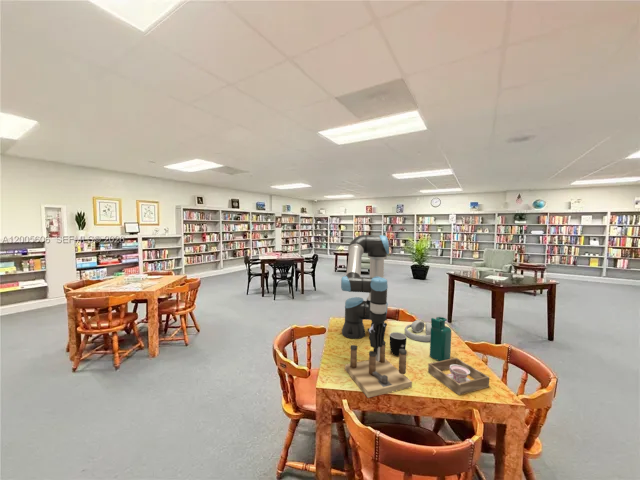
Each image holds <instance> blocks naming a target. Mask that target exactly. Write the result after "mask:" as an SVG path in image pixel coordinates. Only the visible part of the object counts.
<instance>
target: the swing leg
mask: <svg viewBox="0 0 640 480" xmlns="http://www.w3.org/2000/svg"><path fill="white" fill-rule="evenodd" d="M368 356H369V357H368V360H369V374H371V375H374V376H375V377H376V378H378V379H379V380H380V381H382V383H384V384H387V383H388V377H387V376H386V375H383V376H382V375H380V374H379V373H378V372H376V352H374V351H373V350H369V352H368Z"/></svg>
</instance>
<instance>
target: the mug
mask: <svg viewBox="0 0 640 480" xmlns="http://www.w3.org/2000/svg"><path fill="white" fill-rule="evenodd" d="M406 345H407V336H406V334H405V333H402V332H397V331H395V332H391V333H389V348H390V352H391V354H392V355H393V356H397V357H399V349H405V350H406V348H407V346H406Z"/></svg>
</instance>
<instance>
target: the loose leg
mask: <svg viewBox="0 0 640 480" xmlns="http://www.w3.org/2000/svg"><path fill="white" fill-rule="evenodd" d="M407 351H408V350H406V348H405V349H399V356H398V370H399V373H400V374H404V375H405V374H407V373H406V372H407V354H408V353H407Z"/></svg>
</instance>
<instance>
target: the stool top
mask: <svg viewBox="0 0 640 480" xmlns="http://www.w3.org/2000/svg"><path fill="white" fill-rule="evenodd" d="M381 341H382V340H381ZM386 343H387V342H386V341H385V340H384V342H383V344H381V345H382V347H380V361H376V372H378V373H379V374H380V375H382V376H383V375H386V376H387V377H388V383H387V384H384V383H382V381H380V380H379V379H378V378H376V377H375V376H374V375H371V374H369V359H368V360H362V361H358V359H357V357H358V355H357V354H358V346H357V345H356V344H351V345H350V362H349V363H347V364H344V370H345V372H346V373H347V374H348V375H349V377H351V379H352V380H353V381H354V382H355V384H356V385H357V387H359V389H360V390H361V391H362V393H363V394H364V396H366V398H367V399H369V398H373V397H376V396H381V395H385V394H389V393H388V392H390V393H393V392H392V391H394V392H397V391H396V390H398V391H401V390H400V389H402V390H405V389H404V388H406V389H409V387H410V388H412V387H413V381H412V380H411V379H410V378H409V377H407V376H406V375H405V374H400V373H399V368H397V367H396V366H394V364H392V363H391V361H388V360H387V358H386Z"/></svg>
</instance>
